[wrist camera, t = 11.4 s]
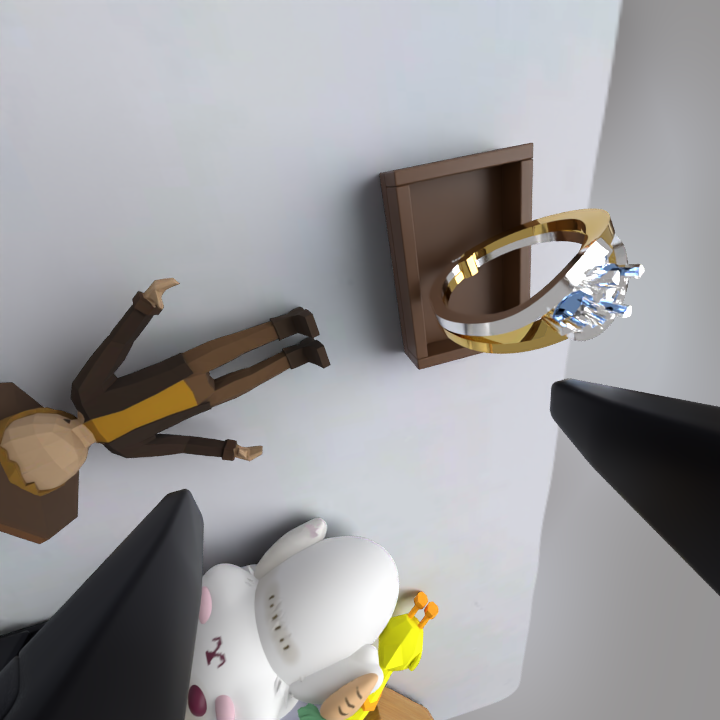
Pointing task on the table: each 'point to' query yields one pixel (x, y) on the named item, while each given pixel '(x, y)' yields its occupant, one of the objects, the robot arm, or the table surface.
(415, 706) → the soap dish
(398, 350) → the table surface
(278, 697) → the white rounded figure
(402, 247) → the rectangular tray
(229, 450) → the toy
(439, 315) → the ring
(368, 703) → the toy figure
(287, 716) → the shallow round bowl
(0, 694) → the robot arm
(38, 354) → the table surface
